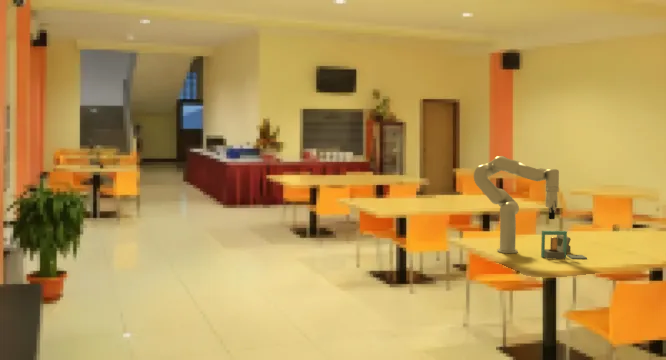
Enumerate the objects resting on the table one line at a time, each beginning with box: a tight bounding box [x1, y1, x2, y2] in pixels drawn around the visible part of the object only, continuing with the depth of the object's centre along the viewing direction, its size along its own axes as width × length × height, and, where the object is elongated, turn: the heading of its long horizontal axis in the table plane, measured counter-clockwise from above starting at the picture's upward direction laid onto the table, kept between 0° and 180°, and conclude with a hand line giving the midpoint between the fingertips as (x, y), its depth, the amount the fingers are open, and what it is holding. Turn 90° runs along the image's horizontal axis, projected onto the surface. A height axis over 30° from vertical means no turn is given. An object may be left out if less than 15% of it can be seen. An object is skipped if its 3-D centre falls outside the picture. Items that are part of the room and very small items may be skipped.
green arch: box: [540, 230, 568, 258], centre depth 419 cm, size 3×14×16 cm, turn 88°
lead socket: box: [543, 248, 565, 260], centre depth 420 cm, size 10×10×4 cm
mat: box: [566, 254, 588, 260], centre depth 419 cm, size 10×9×1 cm
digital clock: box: [555, 235, 571, 254], centre depth 438 cm, size 16×9×11 cm, turn 175°
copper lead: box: [549, 236, 558, 252], centre depth 419 cm, size 4×4×12 cm
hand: (551, 218), depth 425 cm, fingers closed
